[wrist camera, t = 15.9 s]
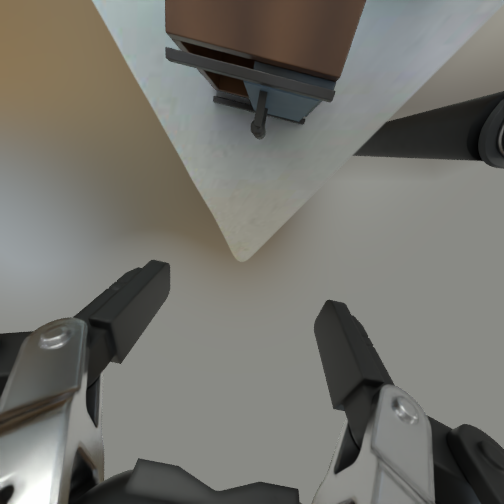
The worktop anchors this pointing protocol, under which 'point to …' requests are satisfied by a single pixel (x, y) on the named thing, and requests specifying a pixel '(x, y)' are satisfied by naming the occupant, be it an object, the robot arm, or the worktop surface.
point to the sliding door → (275, 105)
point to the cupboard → (264, 44)
